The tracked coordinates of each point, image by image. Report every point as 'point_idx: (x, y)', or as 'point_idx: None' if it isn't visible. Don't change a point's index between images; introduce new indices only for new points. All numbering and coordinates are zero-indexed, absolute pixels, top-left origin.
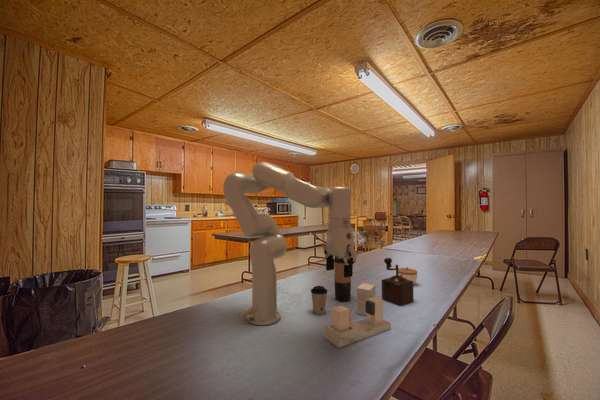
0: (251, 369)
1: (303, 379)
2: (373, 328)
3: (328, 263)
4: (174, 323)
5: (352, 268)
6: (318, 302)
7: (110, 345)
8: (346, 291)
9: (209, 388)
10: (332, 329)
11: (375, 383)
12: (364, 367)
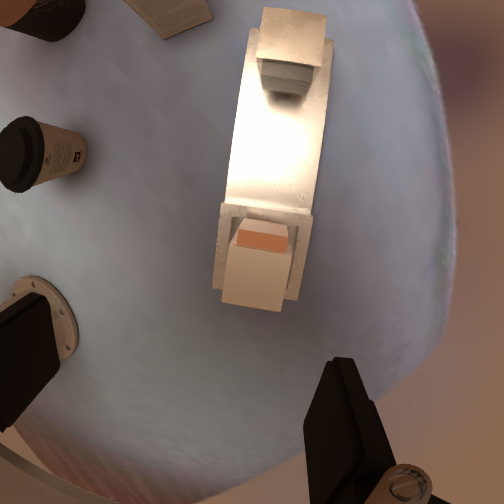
0: (226, 445)
1: None
2: (319, 122)
3: (24, 396)
4: (30, 421)
5: (373, 414)
6: (57, 172)
7: (75, 477)
8: (61, 4)
9: (230, 481)
10: None
11: (430, 324)
12: (393, 301)
